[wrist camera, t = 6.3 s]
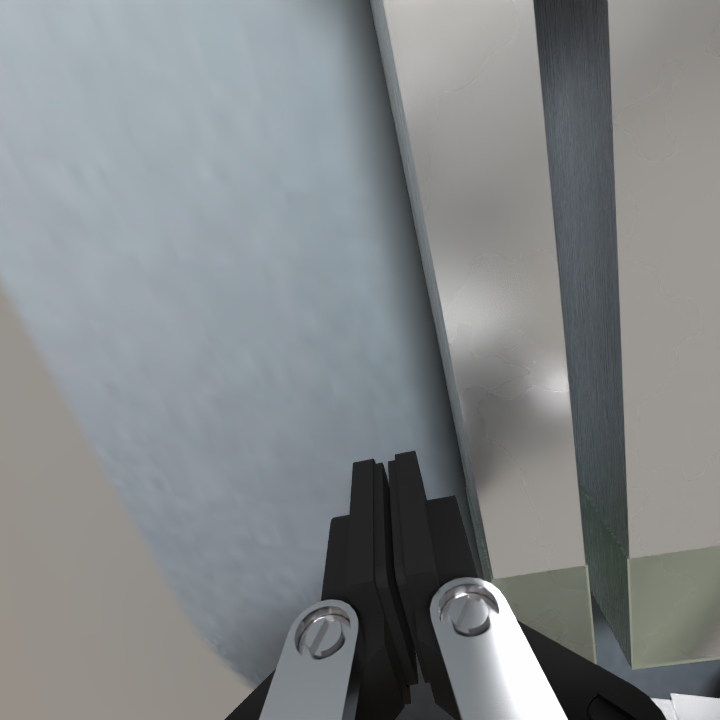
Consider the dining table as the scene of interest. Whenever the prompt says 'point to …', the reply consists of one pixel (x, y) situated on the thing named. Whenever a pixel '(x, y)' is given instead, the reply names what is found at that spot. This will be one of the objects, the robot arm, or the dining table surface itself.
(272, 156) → the dining table surface
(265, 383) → the dining table surface
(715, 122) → the bar
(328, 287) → the dining table surface
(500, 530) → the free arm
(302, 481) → the dining table surface
